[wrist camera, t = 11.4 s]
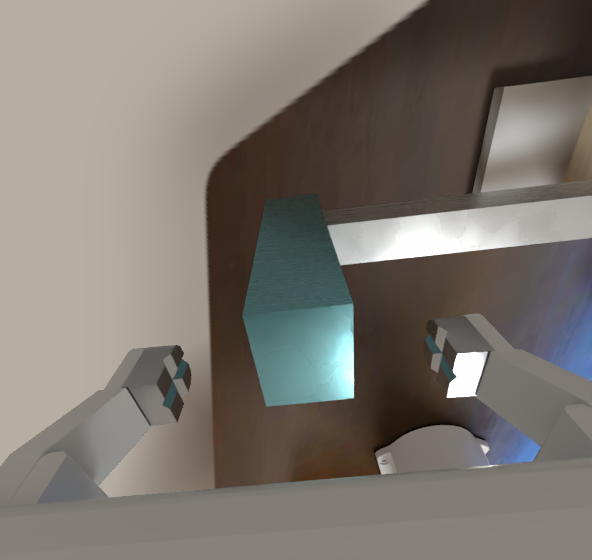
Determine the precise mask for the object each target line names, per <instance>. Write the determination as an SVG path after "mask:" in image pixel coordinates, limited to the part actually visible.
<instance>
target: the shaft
mask: <svg viewBox="0 0 592 560" xmlns="http://www.w3.org/2000/svg"><path fill="white" fill-rule="evenodd" d="M585 238H592V180H585V181H576V182H567V183H559V184H550V185H541V186H533V187H524V188H515V189H507V190H498V191H489V192H481V193H472V194H463V195H455V196H446V197H437V198H429V199H420V200H411V201H403V202H394V203H385V204H377V205H368V206H359V207H351V208H342V209H333V210H325V211H322V209H321V206H320V203H319V200H318V197H317V194H310V195H302V196H293V197H285V198H276V199H268V200H266V204H265V208H264V213H263V218H262V223H261V228H260V233H259V237H258V242H257V247H256V252H255V257H254V262H253V267H252V271H251V276H250V281H249V286H248V291H247V296H246V300H245V305H244V310H243V315H242V316H243V320H244V324H245V327H246V331H247V335H248V339H249V343H250V346H251V350H252V354H253V358H254V362H255V365H256V369H257V373H258V377H259V381H260V384H261V388H262V392H263V396H264V400H265V403H266V406H277V405H288V404H298V403H309V402H319V401H330V400H341V399H351V398H354V348H353V302H352V299H351V296H350V293H349V290H348V287H347V284H346V281H345V278H344V275H343V272H342V269H341V266H340V265H347V264H356V263H365V262H374V261H383V260H393V259H402V258H411V257H420V256H429V255H438V254H448V253H457V252H466V251H475V250H484V249H493V248H503V247H512V246H521V245H530V244H539V243H548V242H558V241H567V240H576V239H585Z"/></svg>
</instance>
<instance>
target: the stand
mask: <svg viewBox="0 0 592 560" xmlns="http://www.w3.org/2000/svg"><path fill="white" fill-rule="evenodd" d="M585 180H592V76H584V77H576V78H569V79H561V80H553V81H545V82H537V83H529V84H521V85H513V86H505V87H497V88H494V93H493V97H492V102H491V107H490V112H489V116H488V121H487V126H486V130H485V135H484V140H483V145H482V149H481V154H480V159H479V164H478V168H477V173H476V178H475V182H474V187H473V192H472V193H481V192H489V191H498V190H507V189H515V188H524V187H533V186H541V185H550V184H559V183H567V182H576V181H585Z"/></svg>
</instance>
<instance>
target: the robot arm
mask: <svg viewBox="0 0 592 560" xmlns="http://www.w3.org/2000/svg"><path fill="white" fill-rule="evenodd" d="M426 329H427V331H428V332H429V335H428V336H427V337H426V338H425V340H424V353H425V357H426V360H427V363H428V364H429V366H430V368H431V369H433V370H434V371H436V372H437V373H438V375H437V381H438V383H439V384H440V386H441V388H442V390H443V392H444V393H445V395H446V397H462V396H476V398H478V399H479V400H480V401H482V402H483V403H484V404H485V405H487V406H488V407H489V408H491V409H492V410H493V411H495V412H496V413H497V414H499V415H500V416H501V417H503V418H504V419H505V420H507V421H508V422H509V423H510V424H512V425H513V426H514V427H516V428H517V429H518V430H520V431H521V432H522V433H524V434H525V435H526V436H528V437H529V438H530V439H531V440H533V441H534V442H535V443H537V444H538V445H539V446H541V448H540V450H539V452H538V453H537V455H536V457H535V458H534V461H533V462H522V463H510V464H499V465H490V463H489V461H488V459H487V457H486V455H485V454H486V453H487V452H488V450H489V447H488V444H487V442H486V441H484V440H481V439H478V438H475V437H474V436H473V435H472V434H471V433H470V432H469V431H468V430H466V429H464V428H461V427H458V426H452V425H436V426H429V427H424V428H420V429H417V430H414V431H412V432H409V433H407V434H405V435H403V436H402V437H400V438H399V439H397V440H396V441H395V442H394V443H392V444H391V445H389V446H387V447H384V448H382V449H380V450H378V451H377V452H376V453H375V456H376V459H377V462H378V465H379V469H380V472H381V475H369V476H357V477H346V478H334V479H322V480H310V481H298V482H286V483H275V484H263V485H251V486H240V487H228V488H216V489H205V490H194V491H181V492H170V493H158V494H146V495H136V496H135V495H134V496H123V497H111V498H108V496H107V495H106V494H105V493H104V492H103V491H102V490H101V489H100V488H99V487H98V486H99V485H100V484H101V483H102V481H103V480H104V479H105V478H106V477H107V476H108V475H109V473H110V472H111V471H112V470H113V469H114V468H115V467H116V466H117V465H118V463H119V462H120V461H121V460H122V459H123V458H124V456H125V455H127V453H128V452H129V451H130V450H131V449H132V448H133V447H134V446H135V444H136V443H137V442H138V441H139V440H140V439H141V438H142V437H143V436H144V434H145V433H146V432H147V431H148V430H149V429H150V426H154V425H162V424H171V423H177V422H178V419H179V416H180V413H181V411H182V408H183V405H184V403H183V401H182V397H183V396H184V395H185V394H186V393H187V392H188V391H189V387H190V384H191V370H190V367H189V364H188V363H187V362H185V361H184V360H183V359H182V357H183V354H184V353H183V351H182V349H181V347H180V346H178V345H174V346H161V347H149V348H138V349H132V350H131V351H129V352H128V354H127V355H126V357H125V358H124V360H123V361H122V363H121V364H120V366H119V367H118V369H117V370H116V372H115V373H114V375H113V376H112V378H111V380H110V381H109V383H108V384H107V386H106V387H105V389H104V390H99V391H97V392H96V393H94V394H93V395H92V396H90V397H89V398H88V399H86V400H85V401H83V402H82V403H81V404H79V405H78V406H76V407H75V408H74V409H72V410H71V411H70V412H68V413H67V414H65V415H64V416H63V417H61V418H60V419H58V420H57V421H56V422H54V423H53V424H52V425H50V426H49V427H47V428H46V429H45V430H43V431H42V432H41V433H39V434H38V435H37V436H35V437H34V438H32V439H31V440H29V441H28V442H27V443H25V444H24V445H23V446H21V447H20V448H18V449H17V450H16V451H14V452H13V453H11V454H10V455H9V456H8V458H7V459H6V460H5V461H4V463H3V464H2V465H1V466H0V560H592V382H591V381H589V380H587V379H585V378H582V377H580V376H578V375H576V374H574V373H572V372H569V371H567V370H565V369H563V368H561V367H558V366H556V365H554V364H552V363H550V362H547V361H545V360H543V359H541V358H539V357H537V356H534V355H532V354H530V353H528V352H526V351H523V350H521V349H514V348H513V347H512V346H511V345H510V344H509V343H508V342H507V341H506V340H505V339H504V338H503V337H502V336H501V335H500V333H499V332H498V331H497V330H496V329H495V328H494V327H493V326H492V325H491V324H490V323H489V322H488V321H487V320H486V319H485V318H484V317H483V316H482V315H480V314H478V313H477V314H469V315H462V316H454V317H445V318H436V319H429V321H428V323H427V328H426Z"/></svg>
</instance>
